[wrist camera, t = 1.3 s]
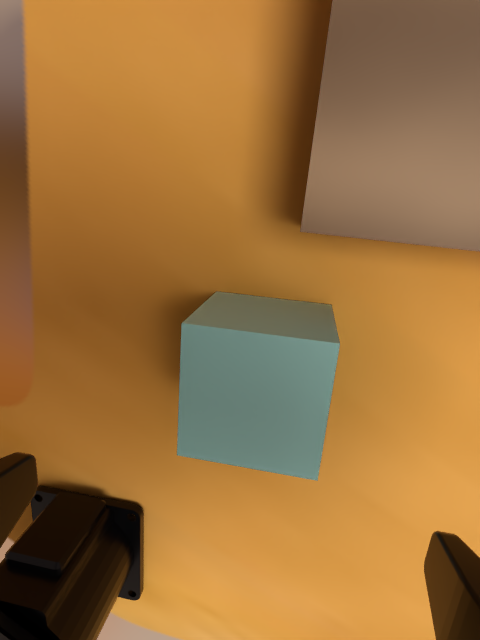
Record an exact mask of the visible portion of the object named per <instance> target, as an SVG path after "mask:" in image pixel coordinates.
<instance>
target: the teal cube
mask: <svg viewBox="0 0 480 640" xmlns="http://www.w3.org/2000/svg"><path fill="white" fill-rule="evenodd" d="M339 347H340V341H339V337H338V332H337V328H336V323H335V318H334V314H333V309H332V305H330V304H322V303H313V302H305V301H296V300H287V299H279V298H270V297H261V296H253V295H244V294H235V293H227V292H218V291H216V292H215V293H214V294H213V295H212V296H211V297H210V298H209V299H208V300H206V301H205V302H204V303H203V304H202V305H201V306H200V307H199V308H198V309H197V310H195V311H194V312H193V313H192V314H191V315H190V316H189V317H188V318H187V319H186V320H184V321H183V322H182V325H181V354H180V383H179V412H178V441H177V455H179V456H184V457H190V458H195V459H201V460H206V461H212V462H217V463H223V464H229V465H234V466H240V467H245V468H251V469H256V470H262V471H267V472H273V473H278V474H284V475H289V476H295V477H300V478H306V479H311V480H317V481H318V475H319V468H320V462H321V456H322V450H323V444H324V438H325V432H326V426H327V420H328V414H329V408H330V401H331V395H332V389H333V383H334V377H335V371H336V365H337V359H338V353H339Z"/></svg>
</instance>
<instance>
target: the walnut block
mask: <svg viewBox="0 0 480 640" xmlns="http://www.w3.org/2000/svg"><path fill="white" fill-rule="evenodd" d="M300 232H307V233H316V234H325V235H334V236H343V237H352V238H362V239H371V240H380V241H389V242H398V243H407V244H416V245H425V246H434V247H443V248H452V249H461V250H470V251H480V0H332V8H331V15H330V22H329V29H328V36H327V43H326V51H325V58H324V65H323V72H322V79H321V86H320V94H319V101H318V108H317V115H316V122H315V129H314V137H313V144H312V151H311V158H310V165H309V173H308V180H307V187H306V194H305V201H304V208H303V216H302V223H301V230H300Z"/></svg>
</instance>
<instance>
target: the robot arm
mask: <svg viewBox="0 0 480 640" xmlns="http://www.w3.org/2000/svg"><path fill="white" fill-rule="evenodd" d="M37 486H38V478H37V467H36V459H35V457H34V456H33V455H31V454H25V453H19V452H17V453H13V454H11V455H8V456H6V457H3V458H1V459H0V548H1V546H2V545H3V543H4V542H5V540H6V538H7V537H8V535H9V534H10V532H11V531H12V529H13V528H14V526H15V524H16V523H17V521H18V520H19V518H20V517H21V515H22V514H23V512H24V510H25V509H26V507H27V506H28V504H29V503H30V501H31V507H32V517H33V523H32V524H31V525H30V526H29V527H28V528H27V529H26V530H25V532H24V533H23V534H22V535H21V536H20V537H19V538H18V540H17V541H16V542H15V543H14V544H13V545H12V546H11V548H10V549H9V550H8V551H7V552H6V554H5V558H4V559H3V560H2V562H1V563H0V640H97V638H98V636H99V634H100V632H101V630H102V627H103V626H104V623H105V621H106V619H107V617H108V615H109V613H110V611H111V609H112V607H113V605H114V603H115V601H116V599H117V597H121V598H125V599H130V600H138V599H139V598H140V596H141V594H142V592H143V515H144V514H143V510H142V509H141V508H140V507H139V506H138V505H135V504H130V503H125V502H120V501H115V500H110V499H105V498H100V497H95V496H91V495H86V494H81V493H76V492H71V491H66V490H61V489H56V488H51V487H46V486H38V487H37ZM132 514H134V515H135V516H134V515H132ZM424 573H425V579H426V585H427V591H428V596H429V602H430V608H431V613H432V619H433V625H434V630H435V636H436V640H480V558H479V557H478V556H477V555H476V554H475V553H474V552H473V551H472V550H471V549H470V548H469V547H468V546H467V545H466V544H465V543H464V542H463V541H462V540H461V539H460V538H459V537H458V536H457V535H455V534H451V533H446V532H440V531H436V532H434V533H433V534H432V537H431V540H430V544H429V547H428V551H427V554H426V558H425V562H424Z"/></svg>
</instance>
